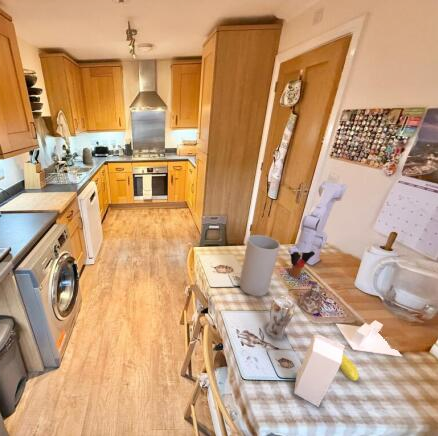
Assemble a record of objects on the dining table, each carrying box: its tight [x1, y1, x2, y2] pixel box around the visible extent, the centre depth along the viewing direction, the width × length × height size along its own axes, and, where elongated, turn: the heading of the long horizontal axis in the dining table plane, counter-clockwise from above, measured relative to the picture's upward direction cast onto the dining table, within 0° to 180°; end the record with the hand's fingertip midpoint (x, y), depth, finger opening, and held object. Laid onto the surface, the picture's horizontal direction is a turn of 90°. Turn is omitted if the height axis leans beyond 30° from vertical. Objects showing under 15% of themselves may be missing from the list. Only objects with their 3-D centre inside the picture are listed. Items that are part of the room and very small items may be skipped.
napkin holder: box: [335, 319, 404, 357], centre depth 83 cm, size 15×11×6 cm
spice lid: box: [291, 258, 306, 269], centre depth 114 cm, size 5×5×2 cm
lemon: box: [339, 354, 359, 382], centre depth 73 cm, size 4×8×4 cm, turn 169°
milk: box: [293, 333, 346, 408], centre depth 64 cm, size 6×6×22 cm
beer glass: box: [265, 295, 296, 340], centre depth 83 cm, size 7×7×15 cm
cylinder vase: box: [238, 234, 281, 297], centre depth 103 cm, size 12×12×25 cm
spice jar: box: [289, 264, 303, 279], centre depth 115 cm, size 4×4×8 cm
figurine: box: [299, 281, 324, 315], centre depth 95 cm, size 7×7×12 cm
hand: (298, 263), depth 114 cm, fingers closed on spice lid, 5 cm apart
